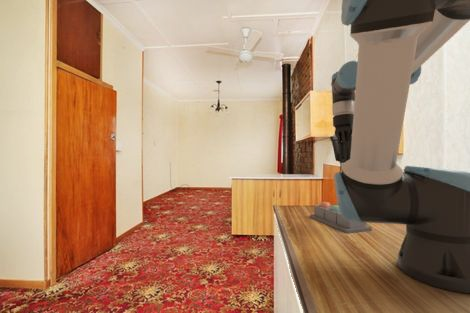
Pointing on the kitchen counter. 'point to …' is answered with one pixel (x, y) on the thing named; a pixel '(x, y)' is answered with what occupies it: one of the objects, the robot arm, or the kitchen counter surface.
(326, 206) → the salmon button
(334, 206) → the teal button
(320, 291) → the kitchen counter surface
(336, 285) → the kitchen counter surface
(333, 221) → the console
